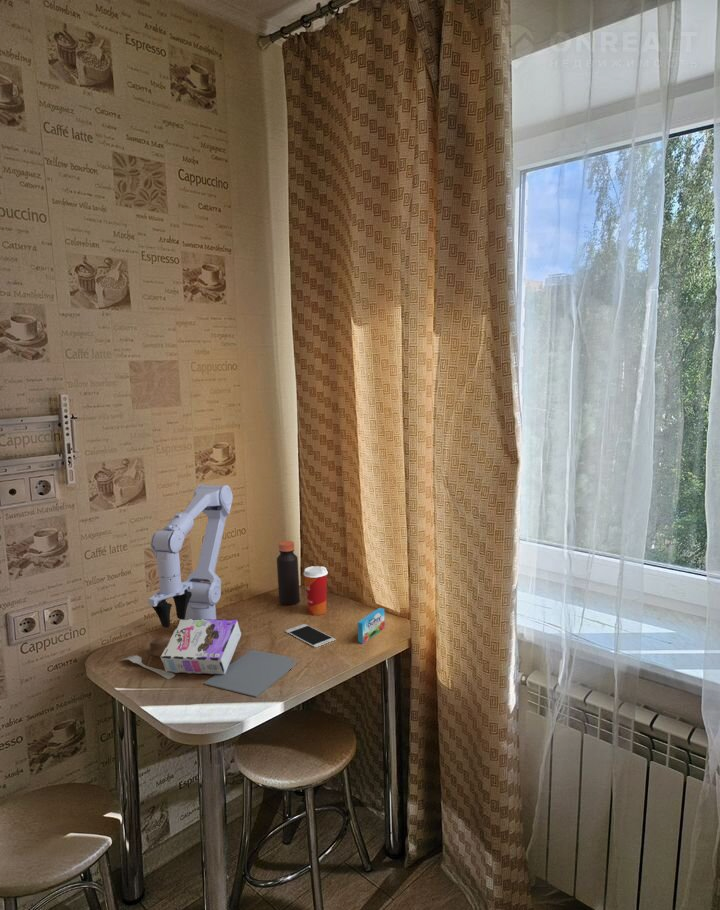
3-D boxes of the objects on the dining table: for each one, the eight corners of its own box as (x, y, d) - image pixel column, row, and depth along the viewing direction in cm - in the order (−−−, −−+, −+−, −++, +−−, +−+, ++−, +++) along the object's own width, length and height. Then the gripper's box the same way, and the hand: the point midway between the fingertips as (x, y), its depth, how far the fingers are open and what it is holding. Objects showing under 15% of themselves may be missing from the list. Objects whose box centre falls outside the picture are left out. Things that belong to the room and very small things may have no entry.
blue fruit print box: (380, 627, 187) (380, 607, 186) (385, 628, 186) (384, 608, 185) (358, 643, 177) (357, 622, 176) (362, 644, 176) (362, 623, 175)
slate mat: (203, 684, 157) (203, 683, 157) (252, 650, 175) (252, 649, 175) (256, 697, 150) (256, 696, 150) (301, 660, 168) (301, 659, 168)
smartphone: (304, 626, 191) (304, 623, 191) (336, 642, 179) (336, 638, 179) (284, 633, 186) (284, 630, 186) (315, 650, 175) (315, 646, 175)
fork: (168, 689, 161) (169, 679, 160) (116, 662, 172) (116, 652, 171) (177, 684, 163) (177, 674, 163) (125, 658, 174) (125, 648, 174)
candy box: (220, 659, 158) (158, 657, 161) (225, 675, 161) (165, 673, 164) (237, 618, 170) (179, 617, 173) (242, 634, 173) (185, 633, 176)
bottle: (285, 597, 214) (282, 539, 211) (303, 599, 211) (300, 540, 208) (275, 604, 208) (271, 545, 205) (293, 607, 205) (290, 546, 202)
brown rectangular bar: (150, 655, 174) (149, 643, 174) (158, 648, 178) (157, 637, 178) (205, 658, 171) (204, 646, 171) (211, 652, 175) (210, 640, 174)
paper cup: (308, 607, 204) (306, 565, 202) (331, 607, 203) (329, 565, 201) (302, 617, 197) (300, 573, 195) (327, 617, 196) (325, 573, 194)
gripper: (161, 585, 163) (165, 635, 165) (199, 567, 176) (203, 614, 178) (140, 581, 166) (145, 631, 168) (179, 564, 179) (183, 611, 181)
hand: (173, 622), depth 173 cm, fingers open, 5 cm apart
